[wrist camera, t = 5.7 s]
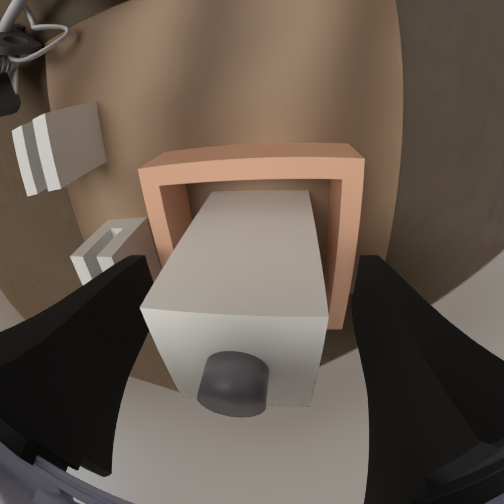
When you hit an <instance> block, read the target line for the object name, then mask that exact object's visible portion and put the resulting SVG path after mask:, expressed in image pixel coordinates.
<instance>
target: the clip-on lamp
mask: <svg viewBox="0 0 504 504" xmlns="http://www.w3.org/2000/svg"><path fill="white" fill-rule="evenodd" d="M26 2H27V0H12V2H11V4H10V5H9V7H8V9H7V11H6V13H5V14H4V16H3V18H2V20H1V22H0V117H1V116H5V115H11V114H14V113H16V112H17V111H18V110H19V107H20V104H21V100H20V98H19V95H18V66H19V65H20V62H27V61H31V60H33V59H35V58H37V57H40V56H41V55H43V54H45V53H46V52H48V51H50V50H51V49H53V48H54V47H56V46H57V45H59V44H60V43H61V42H63V41H64V40H65V39H66V38H67V37H68V36H69V34H70V29H69V28H68V27H67V26H65V25H59V24H40V25H38V24H37V21H36V19H35V17H34V15H33V14H32V12H31V10H30V9H29V7H28V6H27V5H26ZM22 9H23V11H24V12H25V14H26V15H27V17H28V19H29V21H30V24H31V29H33V30H35V31H40V30H49V29H60V30H65V31H66V32H65V33H64V34H63V35H62V36H61V37H60V38H58V39H57V40H55V41H54V42H52V43H51V44H49V45H48V46H46V47H44V48H43V49H41V50H39V49H40V47H41V43H39V42H38V41H36V40H34V39H33V38H31V37H30V36H28V35H27V34H25V33H23V32H22V31H23V28H24V26H22V25H20V24H14V22H15V20H16V18H17V17H18V15H19V13H20V11H21V10H22Z"/></svg>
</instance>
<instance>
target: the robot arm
mask: <svg viewBox="0 0 504 504" xmlns="http://www.w3.org/2000/svg"><path fill="white" fill-rule="evenodd" d="M153 284H154V282H153V279H152V276H151V272H150V269H149V266H148V263H147V260H146V257H145V255H130V256H128V257H126V258H124V259H122V260H121V261H119V262H117V263H116V264H114V265H113V266H111V267H110V268H108V269H107V270H105V271H104V272H102V273H101V274H99V275H98V276H96V277H95V278H93V279H92V280H90V281H89V282H88V283H86V284H85V285H83V286H82V287H80V288H79V289H77V290H76V291H74V292H73V293H71V294H70V295H68V296H67V297H65V298H64V299H62V300H61V301H59V302H58V303H56V304H54V305H53V306H51V307H49V308H48V309H46V310H44V311H42V312H41V313H39V314H37V315H35V316H33V317H31V318H29V319H27V320H25V321H23V322H21V323H19V324H17V325H16V326H13V327H11V328H9V329H6V330H4V331H1V332H0V504H79V503H77V502H75V501H74V500H73V497H75V498H76V499H78V500H80V501H82V502H84V503H86V504H134V503H131V502H129V501H126V500H124V499H121V498H119V497H116V496H113V495H111V494H109V493H107V492H105V491H102V490H100V489H98V488H96V487H94V486H92V485H90V484H88V483H86V482H84V481H81V480H80V479H78V478H76V477H74V476H72V475H70V474H69V473H67V472H66V470H67V467H68V466H69V467H71V468H73V469H75V470H79V467H80V466H81V467H83V468H85V469H87V470H89V471H91V472H93V473H96V474H98V475H100V476H103V477H106V476H109V475H110V474H111V473H112V453H113V443H114V435H115V429H116V423H117V418H118V413H119V409H120V404H121V400H122V397H123V393H124V390H125V386H126V383H127V380H128V377H129V375H130V372H131V370H132V367H133V365H134V363H135V361H136V358H137V356H138V354H139V352H140V349H141V347H142V345H143V343H144V341H145V338H146V336H147V334H148V332H149V328H148V326H147V324H146V322H145V319H144V317H143V314H142V312H141V310H140V306H141V304H142V303H143V301H144V299H145V297H146V296H147V294H148V292H149V291H150V289H151V287H152V285H153ZM351 305H352V314H353V323H354V331H355V336H356V340H357V344H358V349H359V353H360V358H361V363H362V367H363V372H364V377H365V383H366V388H367V395H368V409H369V463H368V476H367V485H366V493H365V500H364V504H504V361H503V360H502V359H500V358H499V357H497V356H495V355H494V354H492V353H491V352H489V351H488V350H487V349H485V348H484V347H482V346H481V345H479V344H478V343H476V342H475V341H474V340H472V339H470V337H468V336H467V335H466V334H464V333H463V332H462V331H461V330H459V329H458V328H457V327H455V326H454V325H453V324H451V323H450V322H449V321H448V320H447V319H446V318H444V317H443V316H442V315H441V314H440V313H439V312H438V311H437V310H436V309H434V308H433V307H432V306H431V305H430V304H429V303H428V302H427V301H426V300H424V299H423V298H422V297H421V296H420V295H419V294H418V293H417V292H416V291H415V290H414V289H413V288H412V287H411V286H410V285H409V284H408V283H407V282H406V281H405V280H404V279H403V278H402V277H401V276H400V275H399V274H397V273H396V272H395V271H394V270H393V269H392V268H391V267H390V266H389V265H388V264H387V263H386V262H385V261H384V260H383V259H382V258H381V257H379V256H378V255H360V258H359V264H358V270H357V276H356V282H355V287H354V292H353V297H352V302H351Z"/></svg>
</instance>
